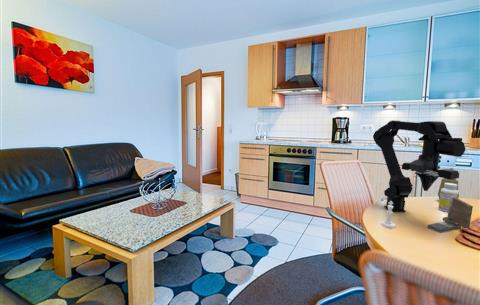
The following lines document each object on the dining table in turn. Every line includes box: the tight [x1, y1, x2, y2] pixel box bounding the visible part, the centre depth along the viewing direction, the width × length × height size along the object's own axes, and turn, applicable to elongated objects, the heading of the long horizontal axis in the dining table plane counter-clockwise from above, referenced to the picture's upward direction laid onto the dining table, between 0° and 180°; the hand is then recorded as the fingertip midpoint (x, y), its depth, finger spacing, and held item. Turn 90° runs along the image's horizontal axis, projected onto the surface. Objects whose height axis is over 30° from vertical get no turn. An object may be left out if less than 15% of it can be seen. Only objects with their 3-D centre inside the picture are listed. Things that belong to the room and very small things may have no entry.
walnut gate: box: [447, 196, 474, 229], centre depth 99 cm, size 2×12×9 cm, turn 166°
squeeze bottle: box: [437, 167, 459, 201], centre depth 128 cm, size 8×8×18 cm
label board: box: [427, 216, 462, 234], centre depth 100 cm, size 8×18×1 cm, turn 111°
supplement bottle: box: [438, 183, 460, 213], centre depth 116 cm, size 7×7×13 cm
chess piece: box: [380, 201, 396, 229], centre depth 98 cm, size 5×5×10 cm
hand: (425, 190), depth 102 cm, fingers closed
